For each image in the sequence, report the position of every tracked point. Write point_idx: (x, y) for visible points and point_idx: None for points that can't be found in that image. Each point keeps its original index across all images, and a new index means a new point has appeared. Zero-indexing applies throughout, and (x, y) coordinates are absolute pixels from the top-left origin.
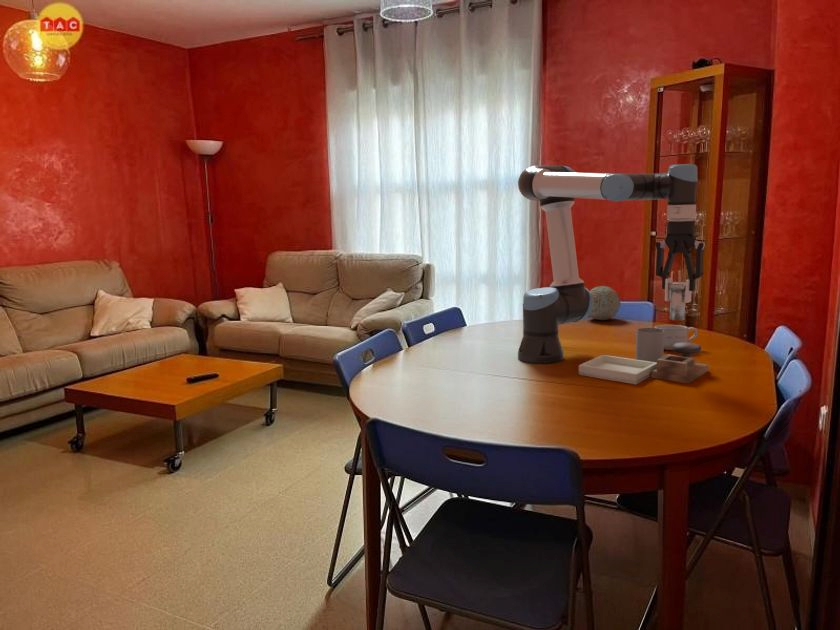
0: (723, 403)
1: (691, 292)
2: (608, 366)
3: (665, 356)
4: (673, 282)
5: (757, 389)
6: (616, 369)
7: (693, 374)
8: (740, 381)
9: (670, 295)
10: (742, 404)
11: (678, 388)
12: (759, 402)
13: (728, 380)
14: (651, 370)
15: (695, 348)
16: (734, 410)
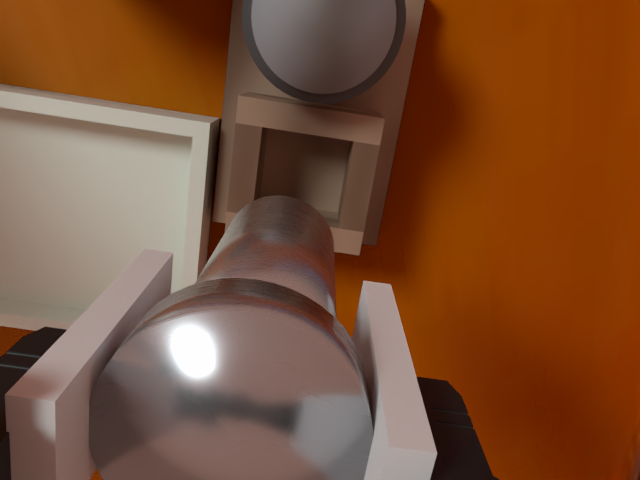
0: (506, 413)
1: (403, 335)
2: (9, 172)
3: (242, 152)
4: (132, 382)
5: (624, 205)
6: (62, 207)
7: (385, 198)
8: (565, 112)
9: (156, 280)
10: (563, 399)
11: (349, 315)
12: (616, 359)
13: (517, 118)
14: (207, 198)
15: (379, 66)
16: (539, 461)
